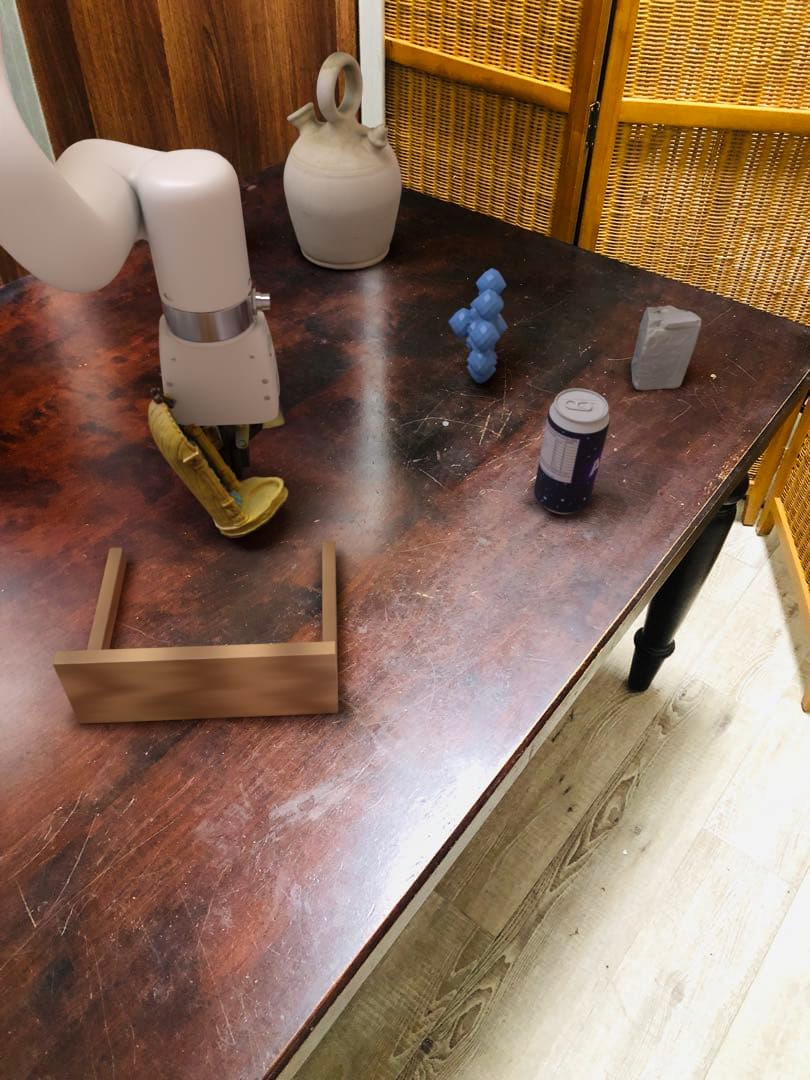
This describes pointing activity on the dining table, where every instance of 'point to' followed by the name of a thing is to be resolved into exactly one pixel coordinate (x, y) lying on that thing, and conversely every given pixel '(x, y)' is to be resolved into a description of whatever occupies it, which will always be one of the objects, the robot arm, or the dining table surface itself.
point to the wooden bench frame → (199, 669)
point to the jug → (341, 177)
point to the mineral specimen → (664, 347)
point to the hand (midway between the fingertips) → (236, 470)
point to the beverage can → (571, 450)
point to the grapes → (482, 325)
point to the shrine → (213, 474)
